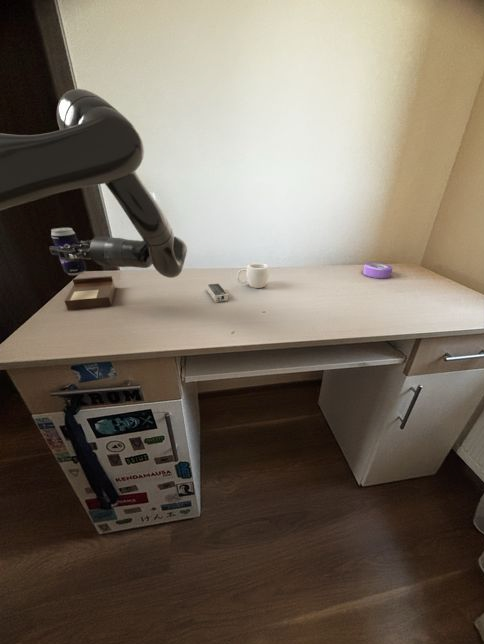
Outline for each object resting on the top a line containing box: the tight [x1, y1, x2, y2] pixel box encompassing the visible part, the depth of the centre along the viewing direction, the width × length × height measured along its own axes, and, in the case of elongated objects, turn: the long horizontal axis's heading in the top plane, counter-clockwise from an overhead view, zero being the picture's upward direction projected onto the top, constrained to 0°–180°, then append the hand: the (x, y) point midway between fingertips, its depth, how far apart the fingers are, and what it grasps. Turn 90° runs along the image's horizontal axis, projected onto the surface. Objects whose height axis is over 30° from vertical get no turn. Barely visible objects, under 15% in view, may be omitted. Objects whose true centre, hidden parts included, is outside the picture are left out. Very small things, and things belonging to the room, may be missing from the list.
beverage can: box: [50, 227, 88, 276], centre depth 79 cm, size 6×6×12 cm
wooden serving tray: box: [64, 275, 116, 311], centre depth 92 cm, size 12×16×4 cm
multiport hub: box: [206, 283, 229, 303], centre depth 98 cm, size 4×11×2 cm, turn 24°
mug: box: [236, 262, 270, 289], centre depth 106 cm, size 12×8×8 cm
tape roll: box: [362, 261, 393, 279], centre depth 124 cm, size 12×12×4 cm
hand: (60, 247), depth 79 cm, fingers closed on beverage can, 5 cm apart
